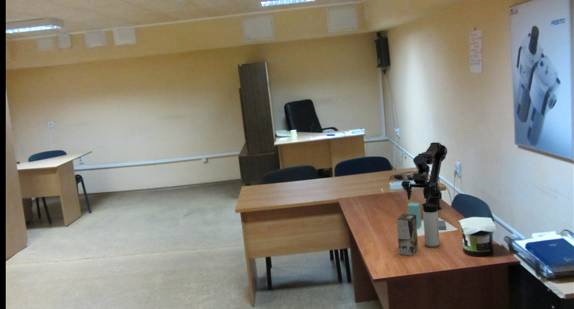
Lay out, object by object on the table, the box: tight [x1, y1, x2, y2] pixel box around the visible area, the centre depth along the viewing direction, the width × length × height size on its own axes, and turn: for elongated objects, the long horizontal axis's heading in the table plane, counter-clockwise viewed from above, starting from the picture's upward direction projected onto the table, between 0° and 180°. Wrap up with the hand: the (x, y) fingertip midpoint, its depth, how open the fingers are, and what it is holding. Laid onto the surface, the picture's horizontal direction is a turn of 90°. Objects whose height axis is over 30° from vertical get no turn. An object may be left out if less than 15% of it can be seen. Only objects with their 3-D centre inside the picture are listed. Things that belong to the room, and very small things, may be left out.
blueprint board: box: [417, 217, 459, 237], centre depth 233 cm, size 23×20×1 cm
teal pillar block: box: [406, 202, 422, 229], centre depth 233 cm, size 5×5×12 cm
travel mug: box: [421, 202, 440, 249], centre depth 210 cm, size 6×7×20 cm
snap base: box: [438, 220, 446, 230], centre depth 231 cm, size 8×8×2 cm
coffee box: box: [396, 213, 419, 256], centre depth 207 cm, size 9×6×16 cm
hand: (417, 200), depth 238 cm, fingers open, 9 cm apart
